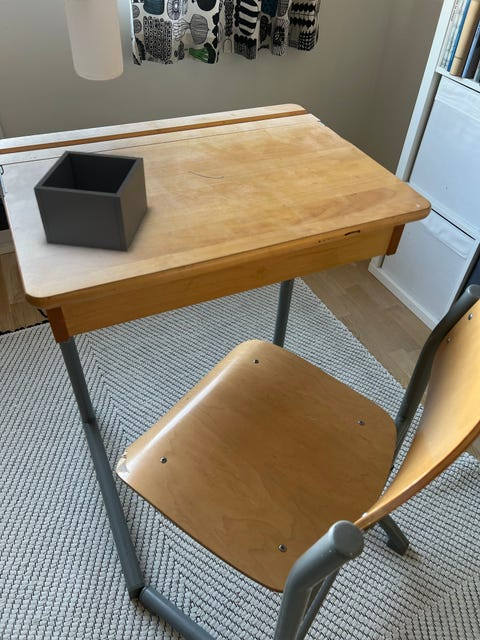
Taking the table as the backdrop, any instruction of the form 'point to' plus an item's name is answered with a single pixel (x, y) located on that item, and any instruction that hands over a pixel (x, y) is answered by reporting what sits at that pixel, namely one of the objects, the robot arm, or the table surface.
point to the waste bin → (93, 200)
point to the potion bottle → (95, 38)
